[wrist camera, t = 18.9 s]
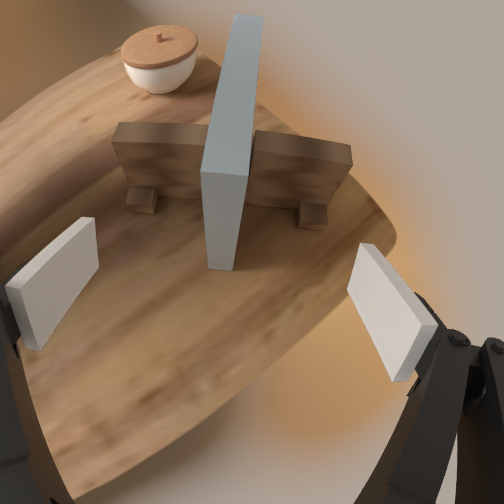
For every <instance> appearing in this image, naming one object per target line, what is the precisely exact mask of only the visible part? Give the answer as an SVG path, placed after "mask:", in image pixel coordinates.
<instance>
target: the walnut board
mask: <svg viewBox="0 0 504 504" xmlns="http://www.w3.org/2000/svg"><path fill="white" fill-rule="evenodd" d="M208 128H209V125H195V124H177V123H145V122H119V124H118V126H117V129H116V131H115V134H114V136H113V139H112V144H113V147H114V149H115V152H116V154H117V156H118V159H119V161H120V164H121V166H122V168H123V171H124V173H125V175H126V178H127V180H128V182H129V184H130V188H129V192H128V195H127V199H126V203H125V204H126V206H127V208H128V210H129V212H135V213H148V214H154V213H155V208H156V204H157V199H158V196H163V197H176V198H188V199H200V200H202V189H201V175H200V170H201V164H202V159H203V154H204V148H205V143H206V138H207V133H208ZM352 166H353V163H352V155H351V147H350V145H347V144H342V143H337V142H332V141H326V140H320V139H314V138H308V137H303V136H296V135H290V134H283V133H276V132H268V131H260V130H256V133H255V138H254V144H253V150H252V155H251V161H250V164H249V175H248V181H247V187H246V193H245V199H244V204H251V205H261V206H270V207H278V208H287V209H295V210H297V223H296V228H302V229H311V230H319V231H322V230H323V229H324V227H325V226H326V225H327V204H328V202H329V201H330V199H331V198H332V196H333V195H334V193H335V192H336V190H337V189H338V187H339V186H340V184H341V183H342V181H343V180H344V178H345V177H346V175H347V174H348V172H349V170H350V169H351V167H352Z"/></svg>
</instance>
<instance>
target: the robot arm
mask: <svg viewBox="0 0 504 504" xmlns="http://www.w3.org/2000/svg"><path fill="white" fill-rule="evenodd" d="M98 268H99V262H98V253H97V242H96V230H95V218H90V217H81V218H80V219H78V220H77V221H76V222H75V223H73V224H72V225H71V226H70V227H69V228H67V229H66V230H65V231H64V232H63V233H61V234H60V235H59V236H58V237H57V238H56V239H54V240H53V241H52V242H51V243H50V244H49V245H47V246H46V247H45V248H44V249H43V250H42V251H41V252H40V253H38V254H37V255H36V256H35V257H34V258H32V259H30V260H28V261H27V262H25V263H23V264H22V265H21V266H20V267H19V268H18V269H17V271H14V272H13V273H12V274H11V276H9V277H8V278H7V279H6V280H5V281H4V282H3V283H2V284H1V285H0V504H75V503H74V501H73V500H72V498H71V496H70V495H69V493H68V491H67V489H66V487H65V485H64V483H63V481H62V478H61V476H60V474H59V472H58V470H57V467H56V465H55V463H54V461H53V458H52V456H51V453H50V451H49V448H48V446H47V443H46V441H45V438H44V435H43V433H42V430H41V427H40V424H39V421H38V418H37V415H36V412H35V409H34V406H33V403H32V399H31V396H30V392H29V389H28V385H27V381H26V377H25V373H24V369H23V365H22V361H21V356H20V352H19V348H18V345H17V343H16V341H17V340H18V339H19V337H20V336H21V338H22V340H23V343H24V345H25V347H26V348H29V349H32V350H36V351H41V350H42V348H43V347H44V345H45V344H46V342H47V340H48V339H49V337H50V336H51V334H52V333H53V331H54V330H55V328H56V327H57V325H58V324H59V322H60V321H61V319H62V318H63V316H64V315H65V314H66V312H67V311H68V309H69V308H70V306H71V305H72V304H73V302H74V301H75V299H76V298H77V297H78V295H79V294H80V292H81V291H82V290H83V288H84V287H85V286H86V284H87V283H88V281H89V280H90V279H91V277H92V276H93V275H94V273H95V272H96V271H97V270H98ZM347 291H348V293H349V295H350V297H351V299H352V301H353V303H354V305H355V307H356V309H357V311H358V312H359V315H360V317H361V319H362V320H363V322H364V325H365V327H366V328H367V330H368V333H369V335H370V337H371V338H372V341H373V343H374V345H375V346H376V349H377V351H378V353H379V355H380V357H381V359H382V362H383V363H384V366H385V368H386V370H387V372H388V374H389V377H390V379H391V381H392V382H399V381H408V380H409V378H410V377H411V375H412V373H413V371H414V370H416V372H417V374H418V378H417V380H416V381H415V383H414V385H413V386H412V388H411V389H410V391H409V393H408V394H407V396H408V397H409V398H408V401H407V403H406V405H405V408H404V410H403V412H402V414H401V417H400V419H399V421H398V423H397V425H396V428H395V430H394V432H393V434H392V436H391V438H390V440H389V442H388V444H387V446H386V448H385V450H384V452H383V454H382V456H381V458H380V460H379V461H378V463H377V465H376V467H375V469H374V471H373V472H372V474H371V476H370V478H369V480H368V481H367V483H366V484H365V486H364V488H363V489H362V491H361V493H360V494H359V496H358V498H357V499H356V501H355V502H354V504H436V503H435V502H436V498H437V496H438V493H439V490H440V488H441V485H442V482H443V479H444V476H445V473H446V470H447V466H448V463H449V460H450V456H451V452H452V449H453V446H454V441H455V438H456V434H457V442H458V443H457V444H458V452H457V482H456V497H455V504H504V342H503V341H501V340H500V339H496V338H491V337H490V338H487V339H486V340H485V342H484V344H483V346H482V347H479V346H474V345H471V342H470V340H469V339H468V338H467V337H466V336H465V335H464V334H463V333H461V332H459V331H457V330H454V329H447V328H446V326H445V325H444V324H443V322H442V321H441V320H440V319H439V317H438V316H437V315H436V313H434V311H433V309H432V308H431V307H430V306H429V304H428V303H427V302H426V301H425V299H424V298H422V297H421V296H420V295H418V294H417V293H415V292H413V291H412V290H411V288H410V287H409V286H408V285H407V283H406V282H405V281H404V280H403V279H402V278H401V276H400V275H399V274H398V272H397V271H396V270H395V269H394V268H393V266H392V265H391V264H390V263H389V262H388V260H387V259H386V258H385V257H384V256H383V255H382V253H381V252H380V251H379V250H378V249H377V248H376V246H375V245H374V244H368V243H360V245H359V249H358V253H357V256H356V260H355V264H354V267H353V271H352V274H351V278H350V281H349V284H348V288H347Z"/></svg>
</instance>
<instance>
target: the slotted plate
mask: <svg viewBox="0 0 504 504" xmlns="http://www.w3.org/2000/svg"><path fill="white" fill-rule="evenodd" d="M262 26H263V17H261V16H253V15H243V14H235V17H234V21H233V25H232V29H231V32H230V36H229V40H228V44H227V49H226V52H225V56H224V60H223V65H222V69H221V73H220V77H219V82H218V86H217V91H216V95H215V100H214V104H213V109H212V114H211V118H210V123H209V128H208V133H207V138H206V143H205V148H204V154H203V159H202V164H201V170H200V175H201V189H202V203H203V215H204V227H205V239H206V250H207V260H208V269H214V270H224V271H232V270H233V264H234V258H235V252H236V246H237V240H238V234H239V228H240V222H241V216H242V210H243V204H244V199H245V193H246V187H247V181H248V175H249V164H250V153H251V142H252V131H253V120H254V109H255V98H256V88H257V77H258V66H259V57H260V46H261V35H262Z"/></svg>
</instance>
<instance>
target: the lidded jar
mask: <svg viewBox="0 0 504 504" xmlns="http://www.w3.org/2000/svg"><path fill="white" fill-rule="evenodd" d="M197 45H198V38H197V35H196V34H195V33H194V32H193V31H192V30H190V29H189V28H186V27H183V26H177V25H161V26H155V27H151V28H147V29H145V30H142V31H140V32H138V33H136V34H134V35H132V36H131V37H130V38H129V39H128V40H126V41H125V43H124V44H123V46H122V48H121V56H122V59H123V61H124V65H125V69H126V71H127V73H128V76H129V77H130V79H131V80H132V81H133V83H134V84H135V85H137V86H138V87H140V88H141V89H143V90H146V91H148V92H150V93H154V94H164V93H169V92H171V91H174V90H175V89H177V88H178V87H179V86H180V85H181V84H182V83H184V82H185V81H186V80H187V79H188V78H189V76H190V75H191V73H192V71H193V69H194V66H195V63H196V57H197Z"/></svg>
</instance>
